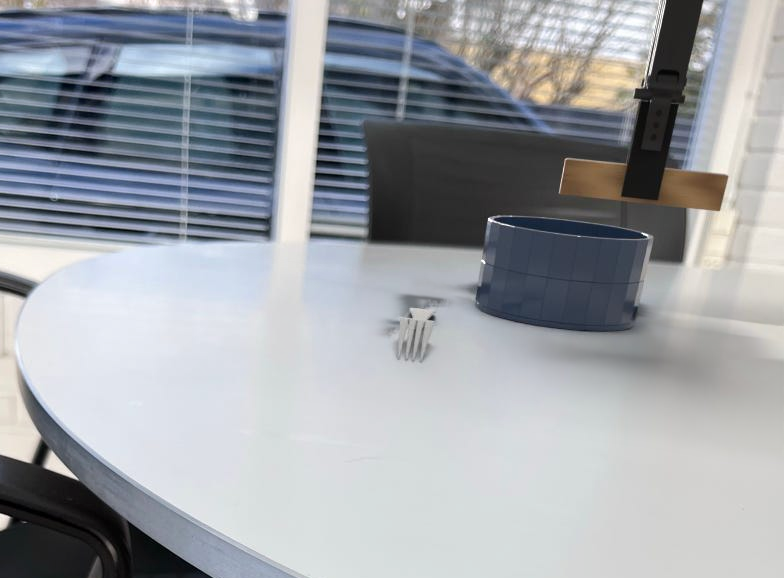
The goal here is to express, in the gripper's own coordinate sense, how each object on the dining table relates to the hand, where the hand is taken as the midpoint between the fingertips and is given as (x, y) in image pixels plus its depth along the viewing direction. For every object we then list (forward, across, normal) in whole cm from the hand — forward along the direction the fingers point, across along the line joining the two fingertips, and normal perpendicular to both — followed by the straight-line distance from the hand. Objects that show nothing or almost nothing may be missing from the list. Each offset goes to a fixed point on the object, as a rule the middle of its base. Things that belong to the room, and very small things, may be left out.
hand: (638, 196), depth 81 cm
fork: (+12, +1, -16) cm, 20 cm away
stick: (0, 0, 0) cm, 0 cm away
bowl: (+12, -18, -5) cm, 22 cm away
